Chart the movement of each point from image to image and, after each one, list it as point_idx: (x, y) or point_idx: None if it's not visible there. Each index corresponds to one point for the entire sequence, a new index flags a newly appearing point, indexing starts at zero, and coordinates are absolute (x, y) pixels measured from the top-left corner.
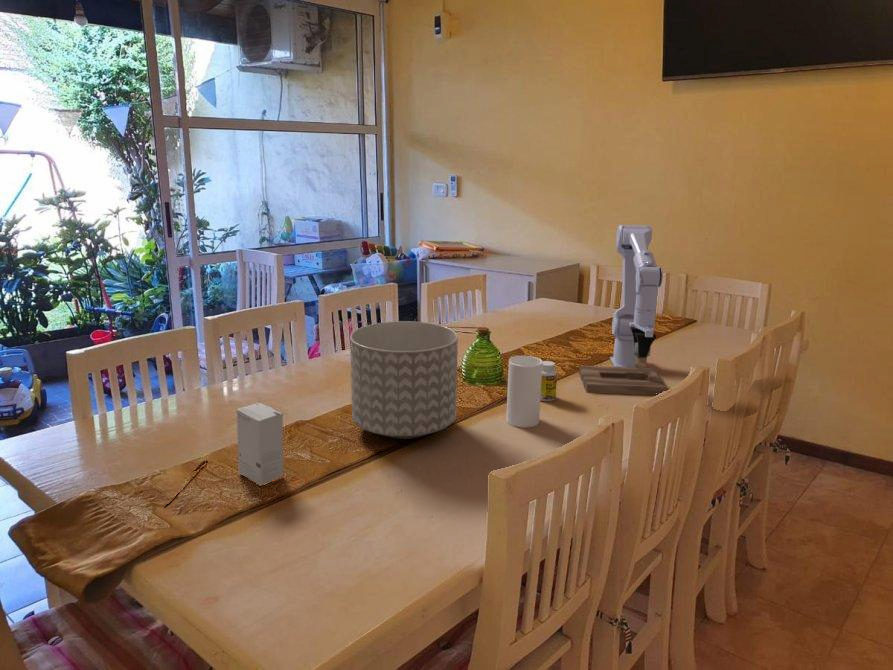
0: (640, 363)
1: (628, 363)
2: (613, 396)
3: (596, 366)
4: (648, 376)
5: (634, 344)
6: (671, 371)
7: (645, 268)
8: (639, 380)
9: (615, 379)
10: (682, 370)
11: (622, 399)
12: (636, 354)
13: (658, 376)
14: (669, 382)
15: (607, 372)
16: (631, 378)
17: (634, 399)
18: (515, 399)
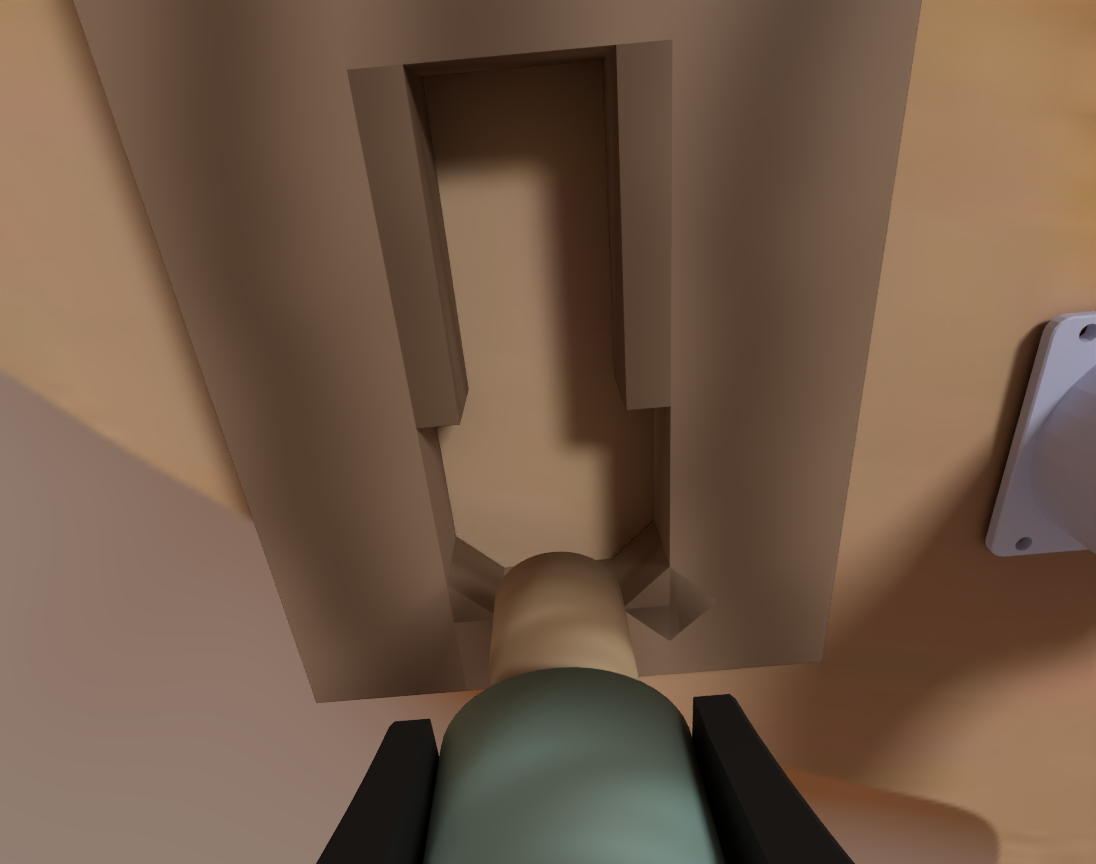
0: (491, 647)
1: (1058, 467)
2: (100, 207)
3: (904, 23)
4: None
5: (763, 804)
6: (894, 735)
7: None
8: (427, 521)
9: (378, 266)
10: (912, 793)
11: (56, 297)
12: (482, 706)
13: None
14: None
15: (640, 181)
16: (658, 446)
17: (118, 412)
18: None
